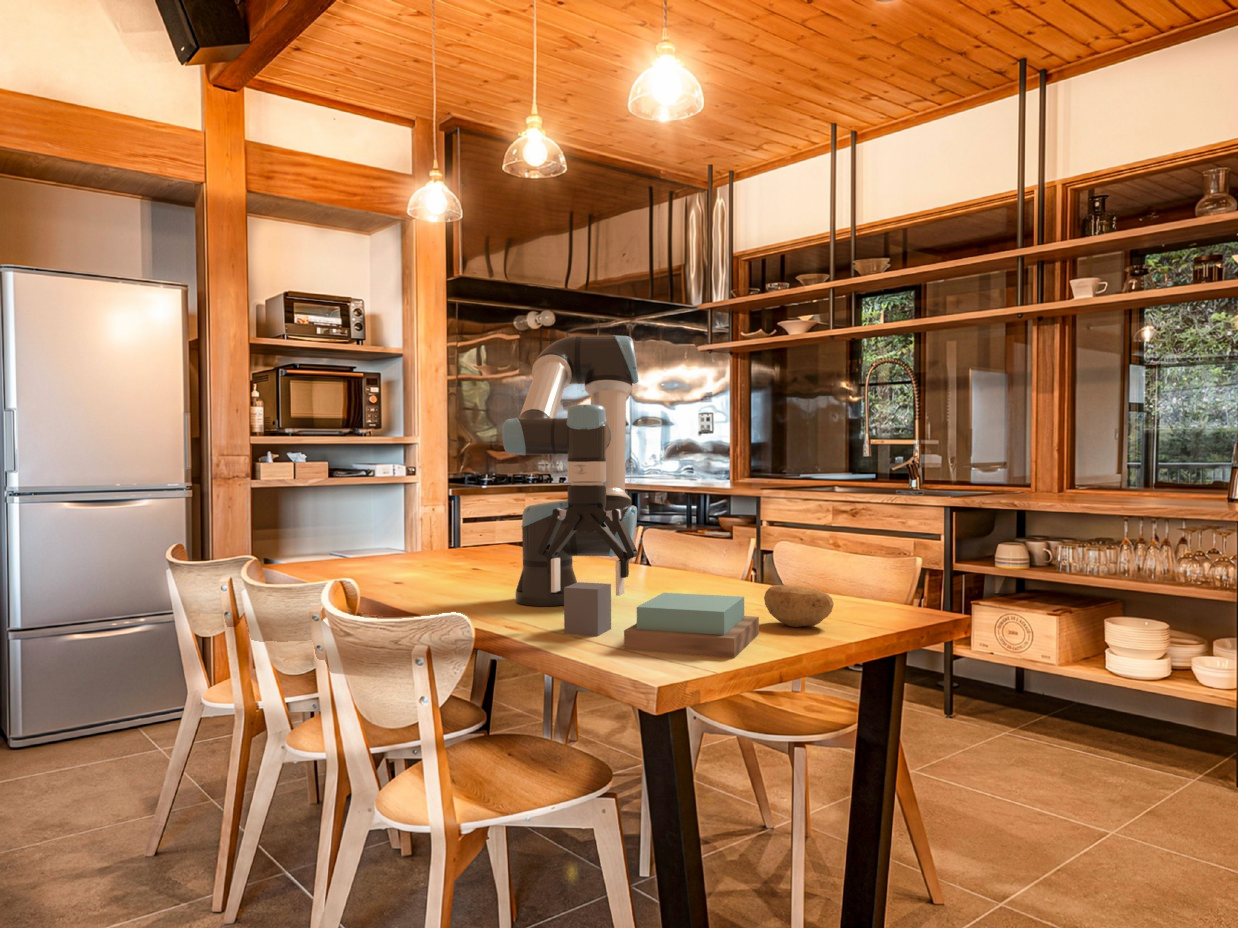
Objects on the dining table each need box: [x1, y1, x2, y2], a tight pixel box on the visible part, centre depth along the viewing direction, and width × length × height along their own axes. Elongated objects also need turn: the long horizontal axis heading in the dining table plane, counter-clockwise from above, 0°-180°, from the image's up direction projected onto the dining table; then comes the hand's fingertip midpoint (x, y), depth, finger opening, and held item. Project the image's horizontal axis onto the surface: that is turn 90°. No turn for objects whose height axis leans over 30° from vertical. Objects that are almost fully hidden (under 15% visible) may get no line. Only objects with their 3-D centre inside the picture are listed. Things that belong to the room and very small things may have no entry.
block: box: [563, 581, 612, 637], centre depth 171 cm, size 7×7×9 cm
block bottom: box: [623, 615, 760, 659], centre depth 161 cm, size 20×20×4 cm
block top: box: [636, 592, 745, 635], centre depth 161 cm, size 16×16×4 cm
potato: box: [763, 584, 834, 628], centre depth 174 cm, size 10×14×8 cm
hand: (587, 593), depth 170 cm, fingers open, 13 cm apart
